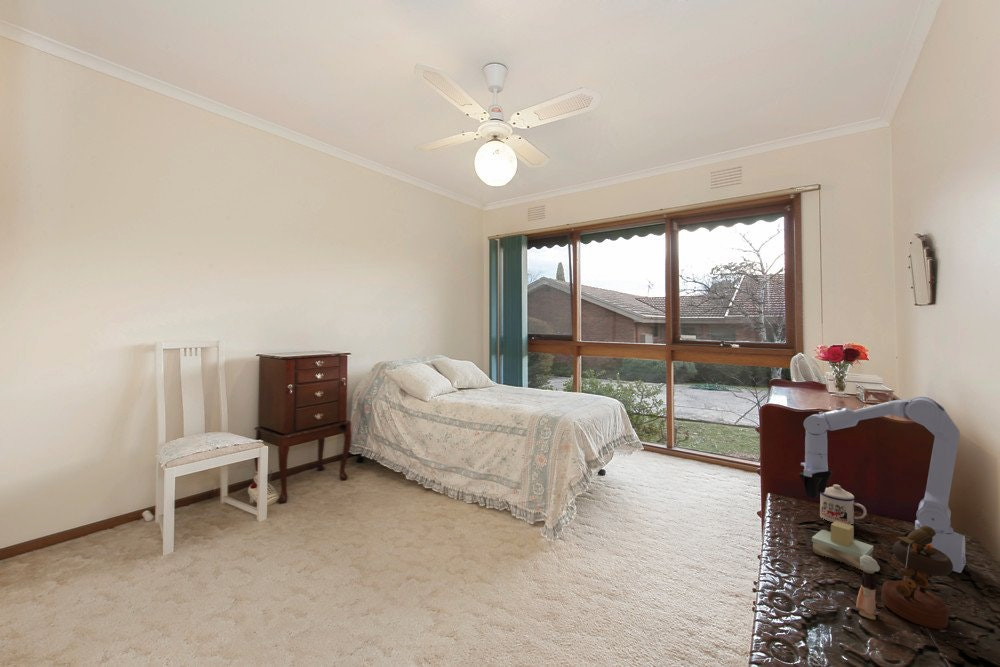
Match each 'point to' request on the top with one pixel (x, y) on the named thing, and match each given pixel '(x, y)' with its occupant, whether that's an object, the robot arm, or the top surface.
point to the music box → (918, 580)
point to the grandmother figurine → (867, 587)
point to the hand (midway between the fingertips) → (815, 494)
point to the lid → (842, 540)
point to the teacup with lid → (838, 505)
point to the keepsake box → (837, 555)
